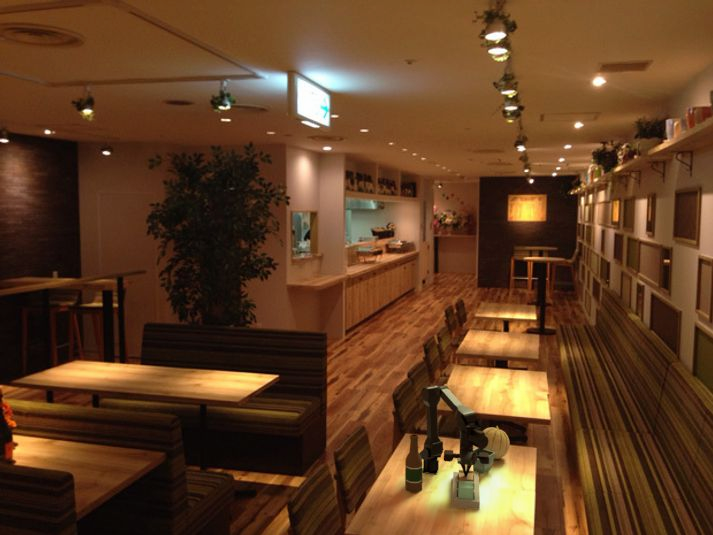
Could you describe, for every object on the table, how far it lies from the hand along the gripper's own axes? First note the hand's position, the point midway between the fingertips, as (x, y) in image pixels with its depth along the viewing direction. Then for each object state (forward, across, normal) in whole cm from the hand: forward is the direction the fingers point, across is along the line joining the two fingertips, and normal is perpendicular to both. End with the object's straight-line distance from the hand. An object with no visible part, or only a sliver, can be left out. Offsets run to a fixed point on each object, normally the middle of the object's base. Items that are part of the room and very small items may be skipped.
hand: (465, 476), depth 266 cm
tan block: (+5, 0, 0) cm, 5 cm away
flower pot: (+8, +7, +22) cm, 24 cm away
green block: (+5, 0, -8) cm, 9 cm away
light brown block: (+5, 0, +8) cm, 9 cm away
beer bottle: (+8, -22, 0) cm, 23 cm away
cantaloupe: (+8, +13, +38) cm, 41 cm away
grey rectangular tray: (+7, 0, 0) cm, 7 cm away
